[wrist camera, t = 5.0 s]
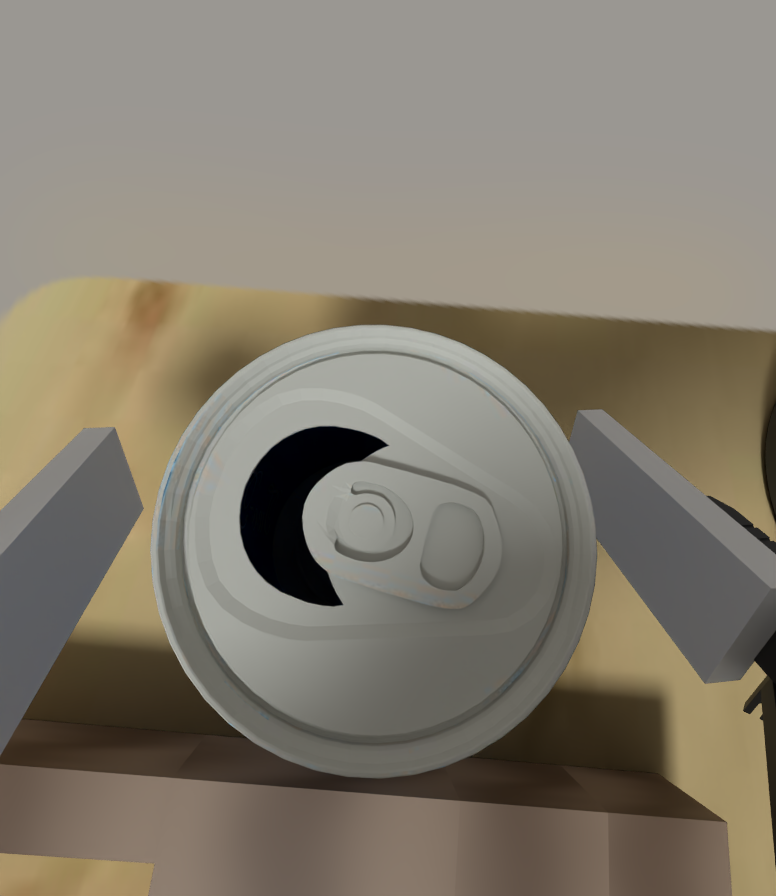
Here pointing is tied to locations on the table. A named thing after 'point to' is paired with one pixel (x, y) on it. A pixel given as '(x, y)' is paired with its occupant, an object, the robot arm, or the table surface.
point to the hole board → (349, 821)
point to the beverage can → (373, 551)
